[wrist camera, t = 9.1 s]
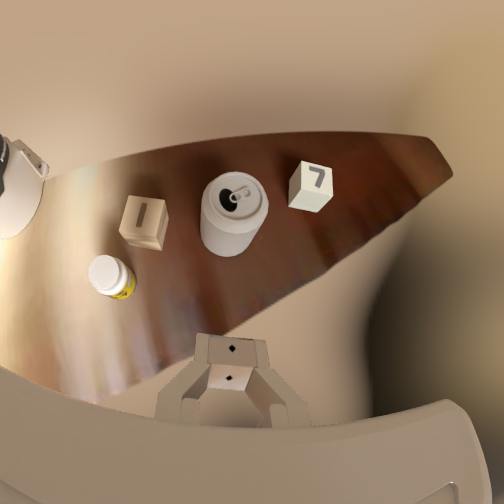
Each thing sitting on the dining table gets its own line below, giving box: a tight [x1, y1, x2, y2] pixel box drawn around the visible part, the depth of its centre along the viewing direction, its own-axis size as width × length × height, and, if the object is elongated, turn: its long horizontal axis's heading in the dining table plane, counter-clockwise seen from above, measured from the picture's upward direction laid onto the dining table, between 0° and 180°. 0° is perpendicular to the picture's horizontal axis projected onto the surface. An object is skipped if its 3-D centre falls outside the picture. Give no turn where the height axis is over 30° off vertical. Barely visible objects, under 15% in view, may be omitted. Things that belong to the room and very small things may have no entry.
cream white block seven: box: [288, 161, 333, 212], centre depth 41 cm, size 5×5×6 cm
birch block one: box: [119, 195, 169, 251], centre depth 35 cm, size 5×5×6 cm
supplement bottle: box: [88, 255, 137, 300], centre depth 31 cm, size 5×5×8 cm
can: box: [200, 172, 268, 257], centre depth 34 cm, size 8×8×12 cm
